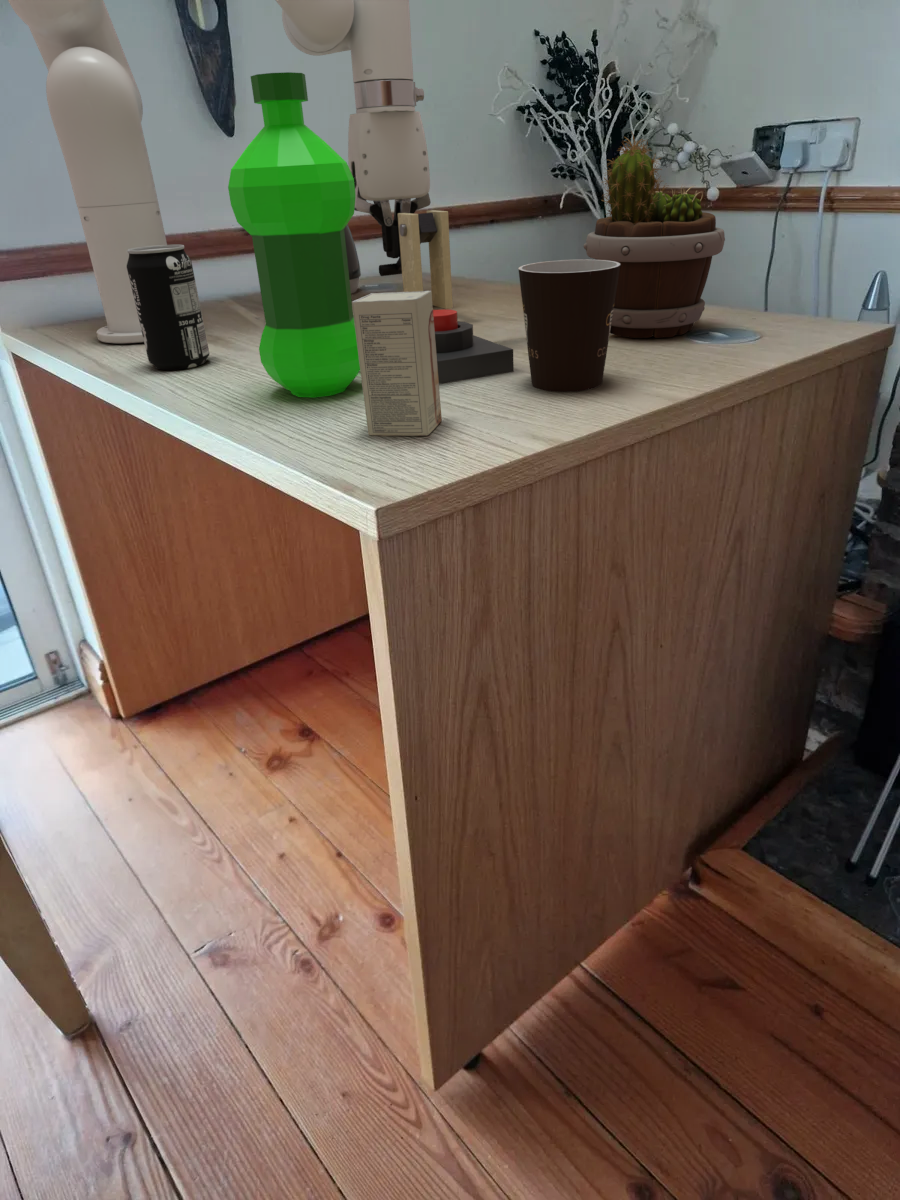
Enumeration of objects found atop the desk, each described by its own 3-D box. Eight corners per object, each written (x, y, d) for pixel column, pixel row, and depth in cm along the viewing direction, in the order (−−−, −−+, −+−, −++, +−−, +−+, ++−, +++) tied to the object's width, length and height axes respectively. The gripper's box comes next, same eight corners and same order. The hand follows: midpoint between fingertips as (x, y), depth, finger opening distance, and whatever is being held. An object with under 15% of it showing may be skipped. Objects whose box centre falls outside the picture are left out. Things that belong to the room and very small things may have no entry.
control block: (375, 364, 84) (371, 324, 82) (460, 350, 87) (458, 312, 85) (419, 388, 74) (416, 343, 72) (513, 372, 77) (513, 329, 76)
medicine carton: (443, 421, 64) (435, 289, 59) (428, 438, 61) (419, 299, 56) (382, 419, 66) (370, 290, 61) (364, 436, 62) (350, 300, 57)
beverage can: (147, 363, 90) (120, 248, 84) (206, 355, 92) (184, 242, 86) (153, 374, 85) (124, 252, 79) (215, 365, 87) (192, 246, 81)
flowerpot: (666, 313, 100) (681, 128, 90) (742, 334, 87) (769, 121, 77) (561, 326, 96) (564, 135, 86) (624, 350, 83) (636, 128, 73)
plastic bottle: (385, 396, 72) (354, 66, 60) (268, 411, 70) (211, 70, 57) (363, 372, 80) (333, 79, 68) (258, 385, 78) (207, 83, 66)
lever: (381, 281, 110) (376, 264, 109) (417, 277, 111) (413, 260, 111) (409, 233, 97) (403, 214, 97) (449, 230, 99) (444, 211, 99)
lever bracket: (387, 318, 107) (378, 213, 101) (441, 311, 110) (435, 208, 104) (416, 329, 99) (408, 216, 93) (473, 321, 102) (469, 211, 96)
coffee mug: (591, 400, 67) (596, 273, 62) (502, 390, 72) (500, 271, 67) (640, 369, 76) (647, 255, 71) (558, 362, 80) (559, 255, 75)
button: (416, 330, 80) (414, 312, 79) (448, 326, 81) (447, 308, 80) (430, 336, 77) (429, 317, 76) (464, 331, 78) (463, 312, 77)
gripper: (427, 101, 106) (434, 250, 115) (319, 103, 101) (335, 259, 110) (450, 96, 100) (456, 254, 109) (337, 98, 95) (353, 264, 104)
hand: (396, 256), depth 109 cm, fingers closed
